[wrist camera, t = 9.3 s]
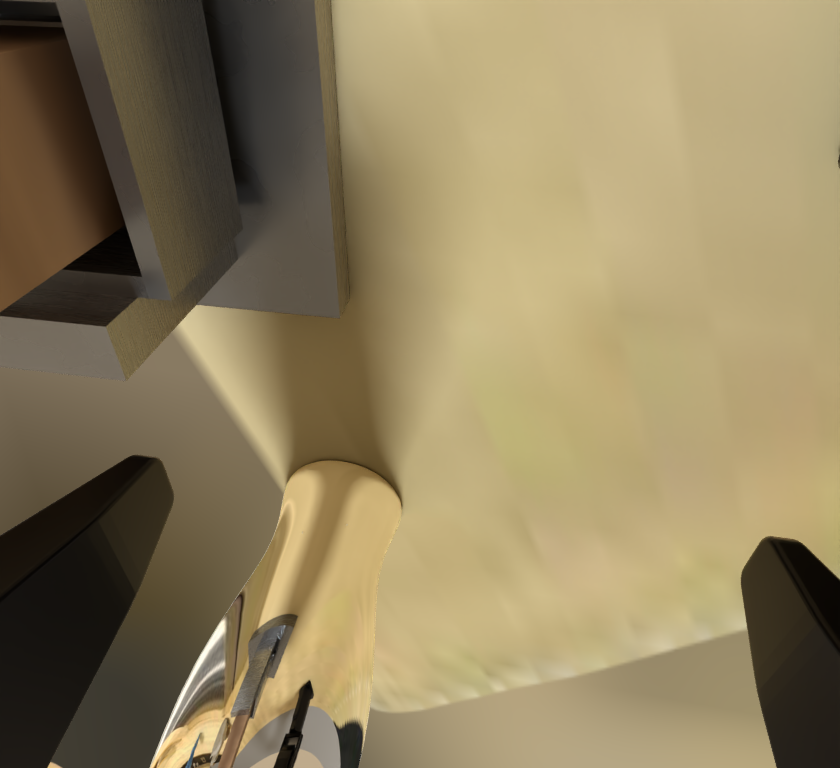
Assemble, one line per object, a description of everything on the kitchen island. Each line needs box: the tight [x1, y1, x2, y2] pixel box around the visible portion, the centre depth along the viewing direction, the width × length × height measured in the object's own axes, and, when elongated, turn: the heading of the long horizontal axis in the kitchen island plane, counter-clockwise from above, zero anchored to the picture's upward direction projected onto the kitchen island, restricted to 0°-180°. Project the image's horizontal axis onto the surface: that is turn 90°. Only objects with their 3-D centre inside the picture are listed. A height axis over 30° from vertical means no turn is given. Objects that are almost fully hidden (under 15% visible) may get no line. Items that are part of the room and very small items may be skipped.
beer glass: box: [150, 460, 402, 768], centre depth 23 cm, size 7×7×15 cm
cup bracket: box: [0, 0, 350, 381], centre depth 15 cm, size 12×12×8 cm
